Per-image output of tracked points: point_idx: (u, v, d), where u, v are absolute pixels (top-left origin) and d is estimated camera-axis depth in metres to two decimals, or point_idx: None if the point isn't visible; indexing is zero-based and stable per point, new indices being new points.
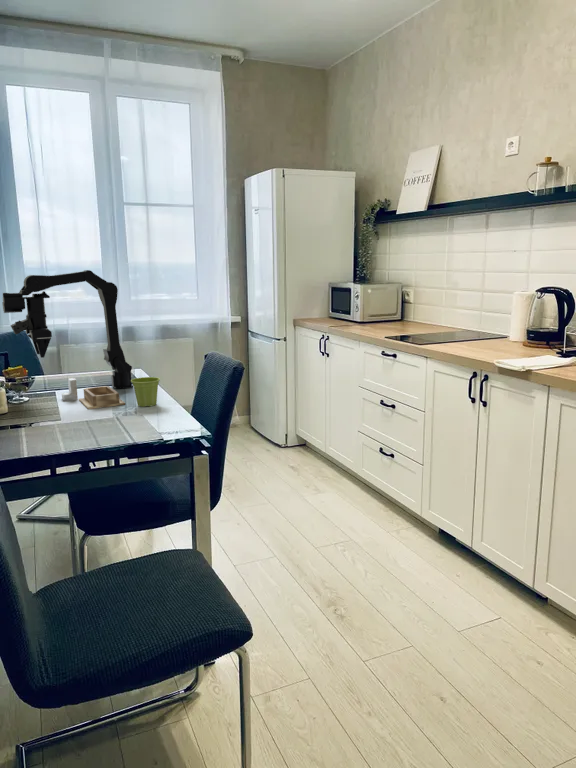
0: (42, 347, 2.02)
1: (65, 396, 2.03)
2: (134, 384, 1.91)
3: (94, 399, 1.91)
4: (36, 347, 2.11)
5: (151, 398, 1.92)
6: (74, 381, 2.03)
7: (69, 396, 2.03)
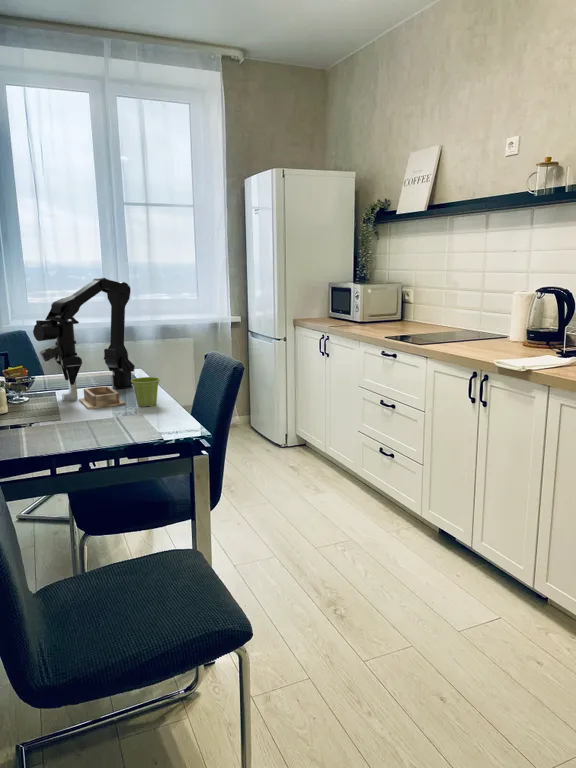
0: (72, 374, 1.99)
1: (65, 396, 2.03)
2: (134, 384, 1.91)
3: (94, 399, 1.91)
4: (64, 373, 2.08)
5: (151, 398, 1.92)
6: None
7: (69, 396, 2.03)
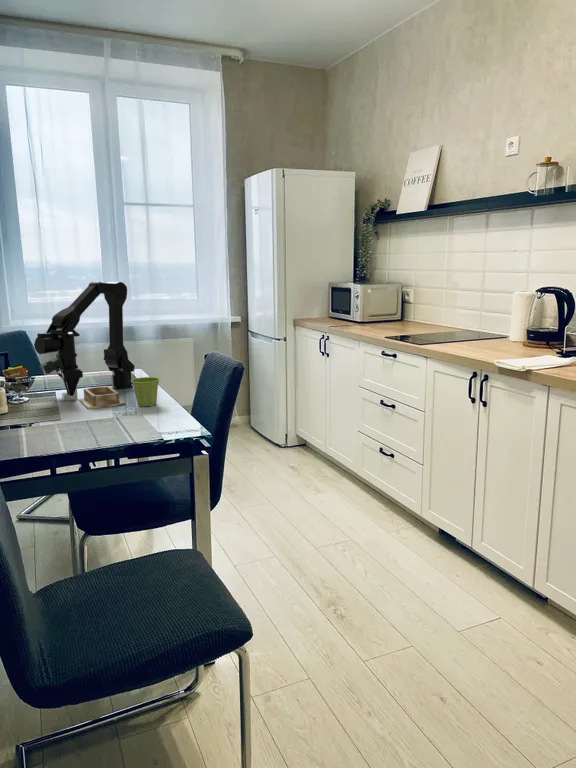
0: (71, 386, 2.02)
1: (65, 396, 2.03)
2: (134, 384, 1.91)
3: (94, 399, 1.91)
4: (67, 386, 2.06)
5: (151, 398, 1.92)
6: None
7: (69, 396, 2.03)
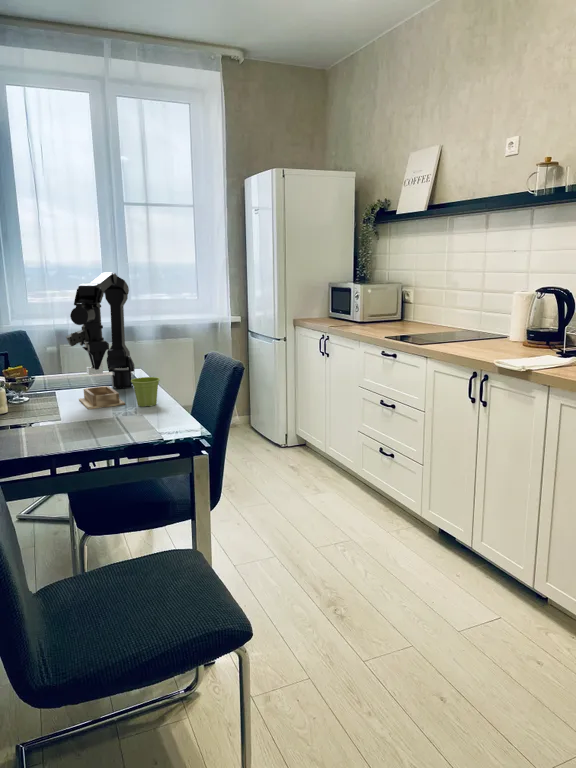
0: (97, 359, 1.94)
1: (90, 370, 1.95)
2: (134, 384, 1.91)
3: (94, 399, 1.91)
4: (92, 360, 1.99)
5: (151, 398, 1.92)
6: None
7: (94, 370, 1.96)
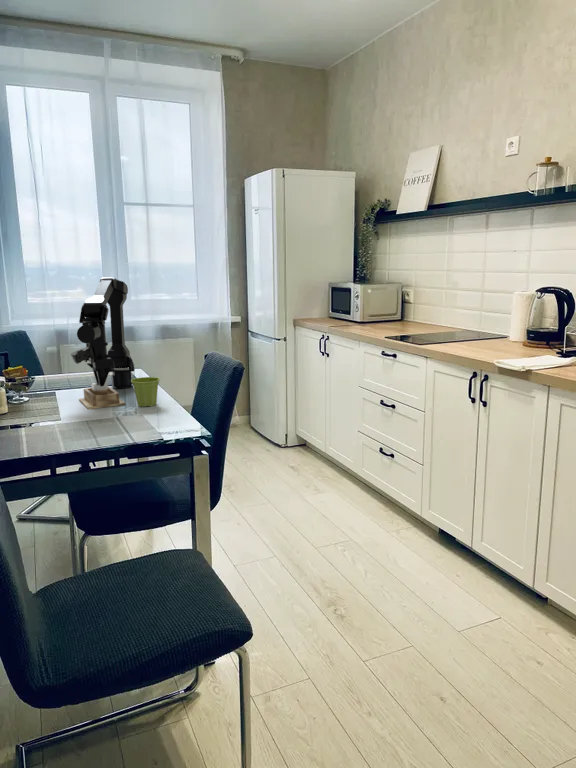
0: (102, 376, 1.95)
1: (95, 386, 1.96)
2: (134, 384, 1.91)
3: (94, 399, 1.91)
4: (96, 377, 2.00)
5: (151, 398, 1.92)
6: None
7: (99, 386, 1.97)
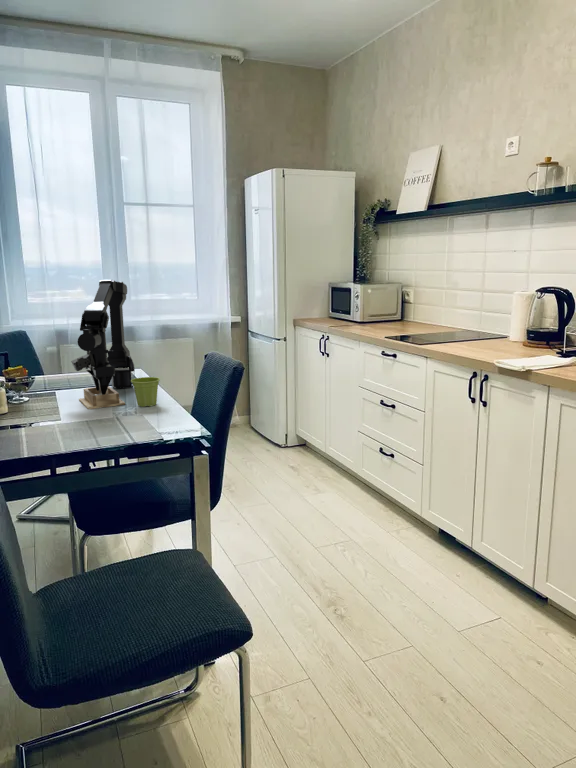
0: (104, 384, 1.94)
1: None
2: (134, 384, 1.91)
3: (94, 399, 1.91)
4: (96, 383, 2.01)
5: (151, 398, 1.92)
6: None
7: None
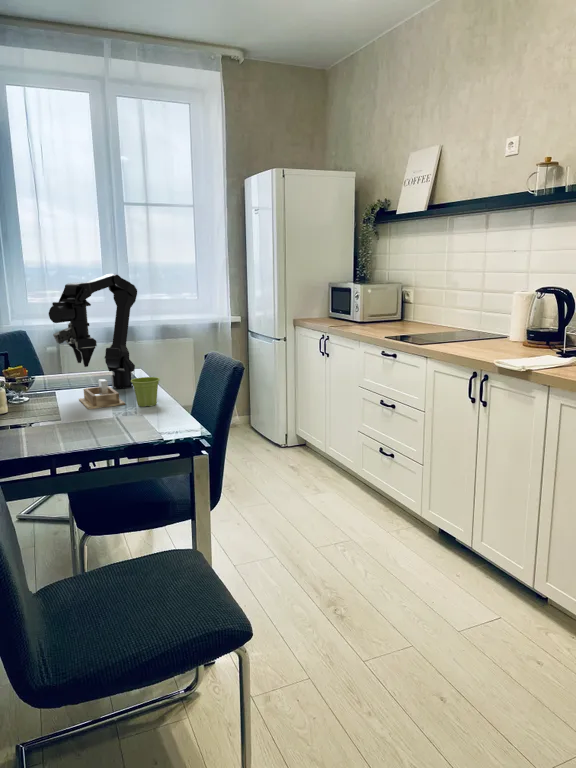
0: (86, 356, 1.99)
1: None
2: (134, 384, 1.91)
3: (94, 399, 1.91)
4: (77, 356, 2.08)
5: (151, 398, 1.92)
6: (105, 382, 1.97)
7: None
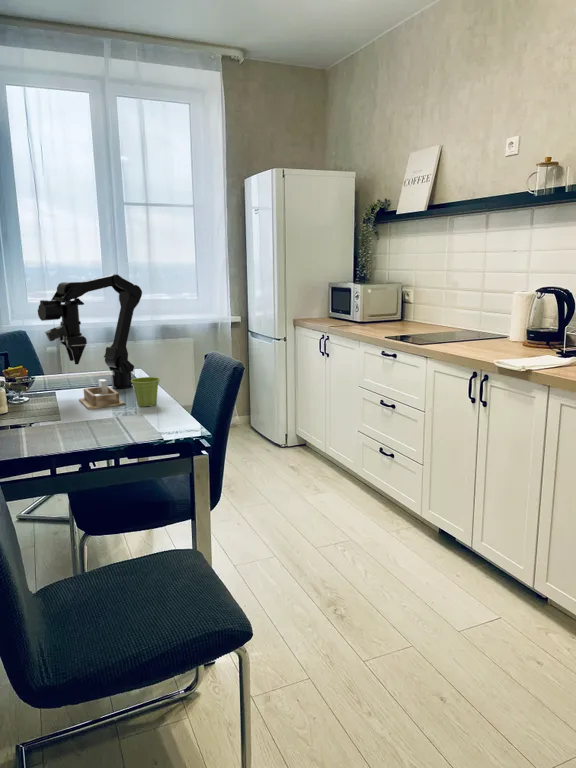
0: (77, 354, 2.03)
1: None
2: (134, 384, 1.91)
3: (94, 399, 1.91)
4: (69, 354, 2.11)
5: (151, 398, 1.92)
6: (105, 382, 1.97)
7: None
